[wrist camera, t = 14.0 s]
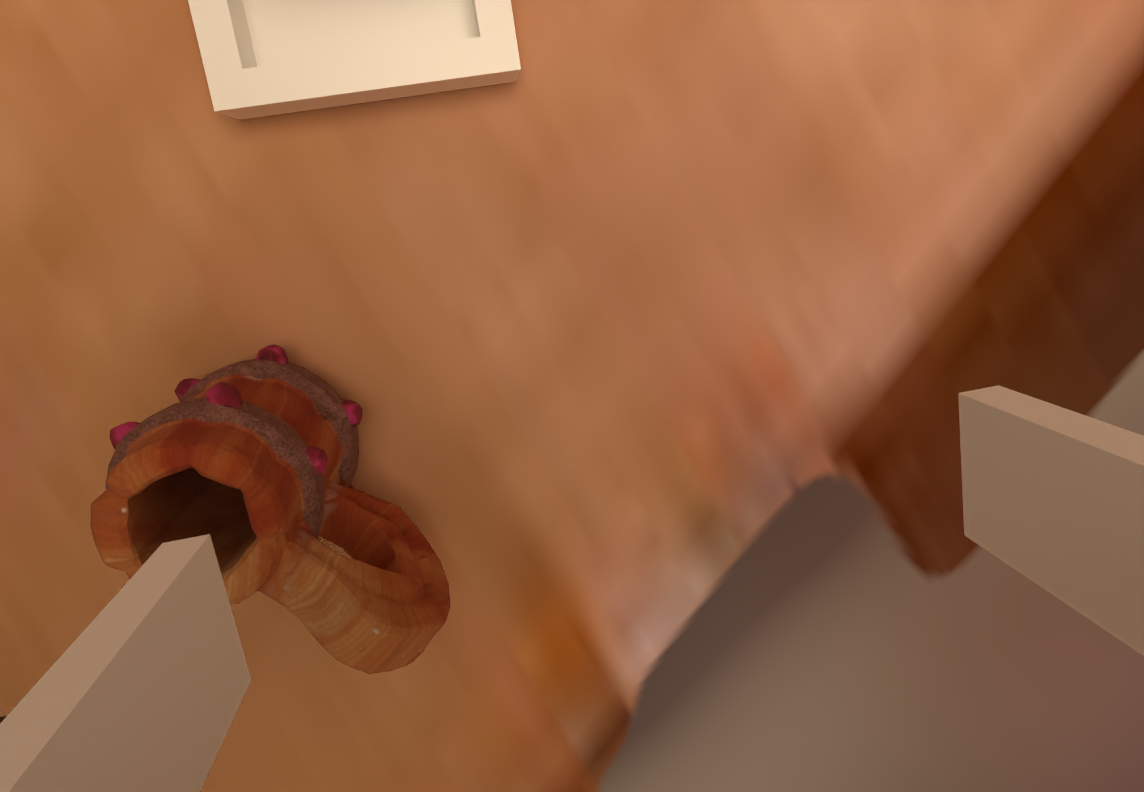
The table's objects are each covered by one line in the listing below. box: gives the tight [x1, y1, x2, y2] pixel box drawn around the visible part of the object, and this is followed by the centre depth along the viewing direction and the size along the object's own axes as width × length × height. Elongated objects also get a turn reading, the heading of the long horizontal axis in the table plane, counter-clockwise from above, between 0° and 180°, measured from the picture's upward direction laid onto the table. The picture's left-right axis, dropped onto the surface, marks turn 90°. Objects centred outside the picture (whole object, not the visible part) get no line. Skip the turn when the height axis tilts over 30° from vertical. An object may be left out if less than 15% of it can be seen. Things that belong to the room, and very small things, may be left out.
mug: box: [91, 345, 450, 674], centre depth 35 cm, size 15×8×15 cm, turn 52°
